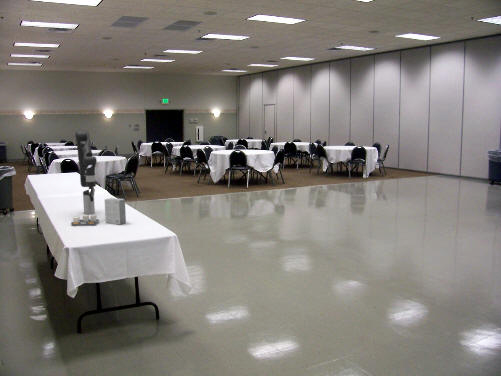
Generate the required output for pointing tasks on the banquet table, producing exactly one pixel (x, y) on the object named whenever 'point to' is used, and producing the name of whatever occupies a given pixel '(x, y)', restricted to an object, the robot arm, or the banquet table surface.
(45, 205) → the banquet table surface
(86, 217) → the tab
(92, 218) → the tab
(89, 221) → the switch bank
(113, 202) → the hard drive box
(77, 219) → the tab
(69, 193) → the banquet table surface
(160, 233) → the banquet table surface
